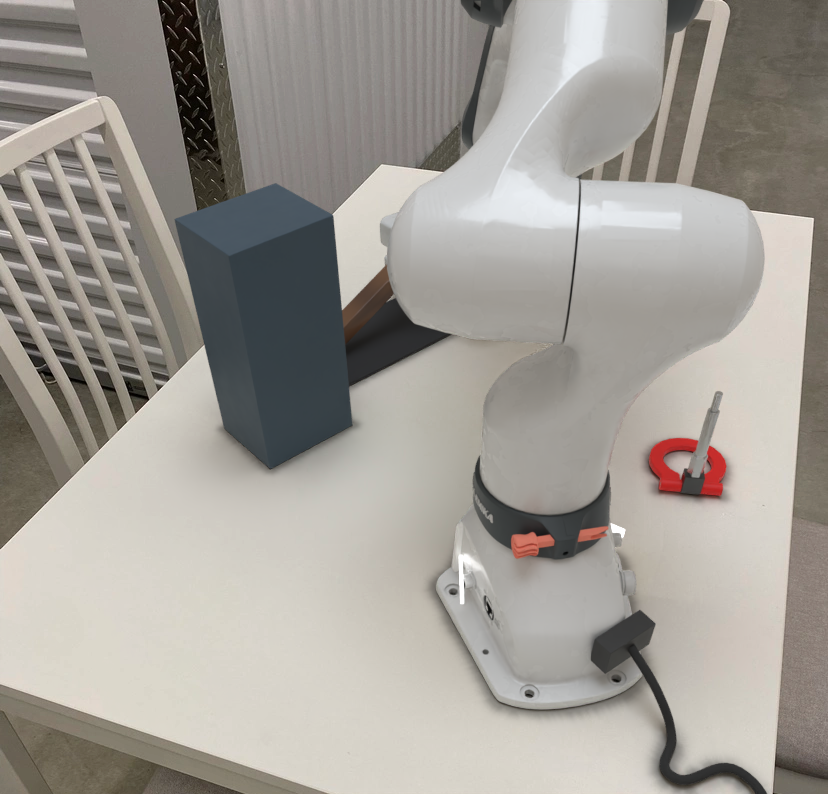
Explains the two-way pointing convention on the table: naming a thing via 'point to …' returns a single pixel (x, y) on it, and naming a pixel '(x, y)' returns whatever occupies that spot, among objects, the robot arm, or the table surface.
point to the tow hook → (692, 460)
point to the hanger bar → (366, 304)
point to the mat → (386, 341)
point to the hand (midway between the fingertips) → (397, 269)
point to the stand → (270, 319)
